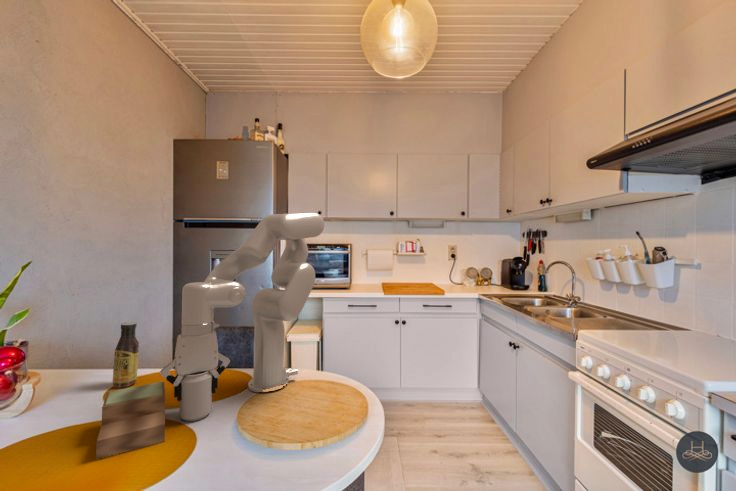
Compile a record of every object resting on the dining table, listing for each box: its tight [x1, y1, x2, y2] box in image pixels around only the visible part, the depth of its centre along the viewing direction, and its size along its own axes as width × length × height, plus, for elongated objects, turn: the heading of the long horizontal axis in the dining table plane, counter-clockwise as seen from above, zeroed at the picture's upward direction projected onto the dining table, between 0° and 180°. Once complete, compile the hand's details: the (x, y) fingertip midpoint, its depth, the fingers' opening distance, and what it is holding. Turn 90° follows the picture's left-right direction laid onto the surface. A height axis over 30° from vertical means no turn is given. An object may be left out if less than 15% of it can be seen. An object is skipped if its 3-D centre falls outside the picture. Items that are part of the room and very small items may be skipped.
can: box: [179, 371, 213, 422], centre depth 84 cm, size 8×8×12 cm
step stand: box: [95, 381, 166, 460], centre depth 75 cm, size 12×16×8 cm
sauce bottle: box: [112, 321, 140, 389], centre depth 101 cm, size 7×6×20 cm
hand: (196, 394), depth 84 cm, fingers closed on can, 7 cm apart
